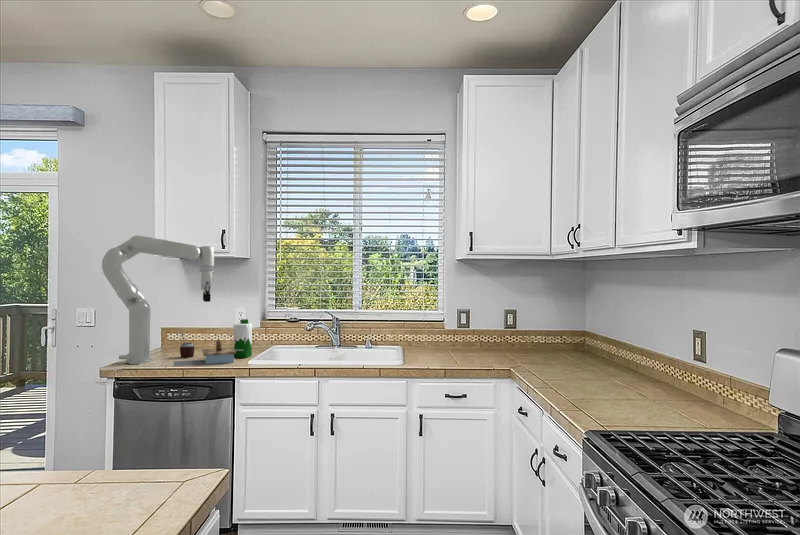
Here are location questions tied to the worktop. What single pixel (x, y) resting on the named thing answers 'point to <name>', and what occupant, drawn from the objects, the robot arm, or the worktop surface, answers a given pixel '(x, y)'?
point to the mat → (189, 362)
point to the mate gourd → (186, 349)
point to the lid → (218, 350)
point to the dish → (219, 359)
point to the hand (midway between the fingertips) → (206, 301)
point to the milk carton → (243, 339)
